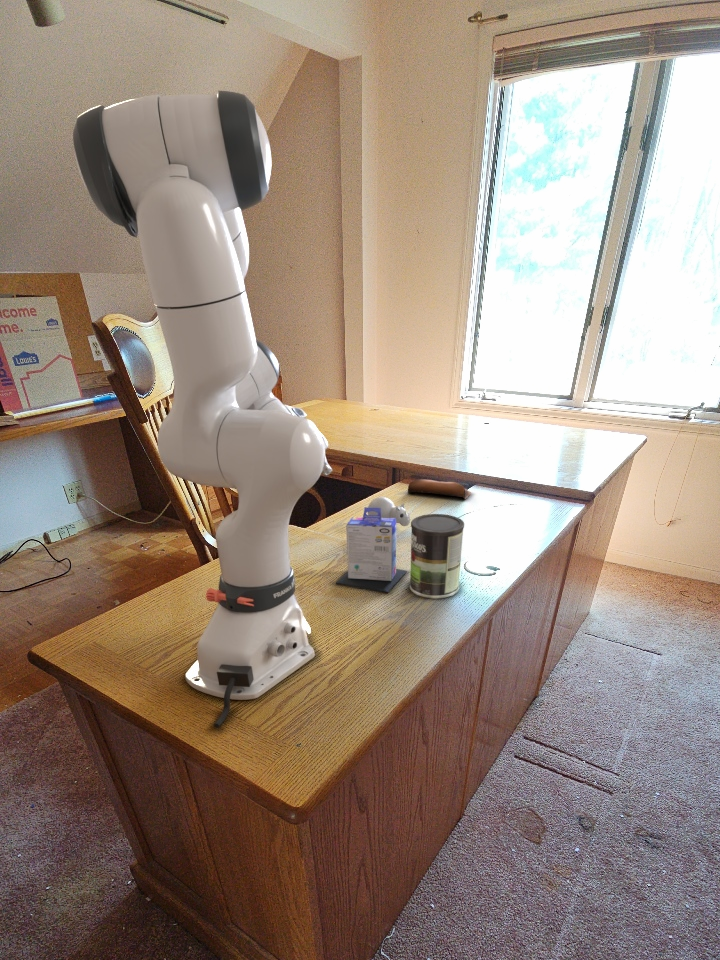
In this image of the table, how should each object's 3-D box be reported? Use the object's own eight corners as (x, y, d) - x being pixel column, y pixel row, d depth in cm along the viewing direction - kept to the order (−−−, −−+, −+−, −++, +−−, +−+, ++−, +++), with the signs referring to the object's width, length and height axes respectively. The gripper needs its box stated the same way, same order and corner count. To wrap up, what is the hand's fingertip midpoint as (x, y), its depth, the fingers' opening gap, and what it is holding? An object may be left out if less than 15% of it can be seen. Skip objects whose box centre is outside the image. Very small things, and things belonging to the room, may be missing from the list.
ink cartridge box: (397, 571, 123) (397, 506, 115) (393, 582, 118) (393, 515, 110) (353, 568, 124) (350, 504, 117) (347, 579, 120) (344, 513, 112)
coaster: (387, 593, 114) (387, 591, 114) (335, 584, 119) (335, 582, 119) (406, 572, 123) (406, 570, 123) (357, 564, 127) (357, 562, 127)
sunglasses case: (472, 491, 170) (470, 475, 165) (466, 508, 168) (463, 492, 162) (417, 485, 177) (413, 469, 172) (409, 502, 174) (406, 486, 169)
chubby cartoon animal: (402, 540, 139) (402, 506, 135) (362, 531, 145) (361, 499, 141) (416, 531, 144) (417, 498, 140) (377, 523, 150) (376, 491, 146)
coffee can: (421, 602, 111) (423, 534, 103) (402, 581, 119) (403, 517, 112) (468, 594, 113) (473, 527, 106) (446, 574, 122) (450, 511, 114)
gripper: (252, 425, 104) (302, 483, 105) (306, 407, 119) (349, 457, 121) (235, 448, 108) (284, 503, 109) (290, 428, 123) (331, 476, 125)
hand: (318, 479), depth 115 cm, fingers open, 8 cm apart
